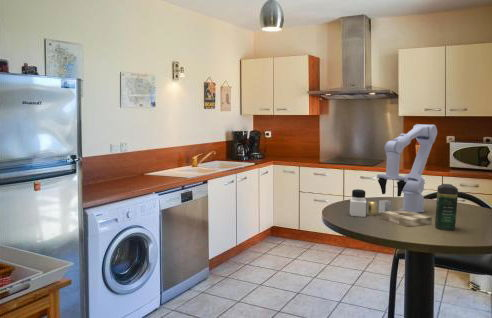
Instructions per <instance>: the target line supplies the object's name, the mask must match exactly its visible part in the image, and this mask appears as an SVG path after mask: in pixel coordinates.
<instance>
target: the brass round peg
mask: <svg viewBox="0 0 492 318" xmlns="http://www.w3.org/2000/svg"><path fill="white" fill-rule="evenodd" d="M377 208H378V202H377V201H374V200H373V201H371V200H369V201H367V215H368V216H372V215H375V216H377V213H378V212H377V210H378V209H377Z"/></svg>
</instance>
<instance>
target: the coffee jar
mask: <svg viewBox="0 0 492 318" xmlns="http://www.w3.org/2000/svg"><path fill="white" fill-rule="evenodd" d="M436 188H437V189H436V190H437V191H436V204H435V206H436V207H435V217H434V225H435V227H436V228H437V229H442V230H445V231H449V230H450V231H451V230H455V229H456V223H457V222H456V221H457V211H458V210H457V208H458V199H459V197H458V196H459V195H458V194H459V192H458V191H459V189H458V188H457V186H454V185H453V184H451V183H442V184H440V185H438V186H437V187H436Z"/></svg>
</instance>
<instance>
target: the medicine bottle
mask: <svg viewBox="0 0 492 318" xmlns="http://www.w3.org/2000/svg"><path fill="white" fill-rule="evenodd" d="M349 201H350V203H349V216H350V217H359V218H360V217H362V218H364V217H365V218H366V217H367V207H368V201H367V200H366V190H364V189H362V188H361V189H358V188H357V189H353V190H352V191H351V198H350V200H349Z"/></svg>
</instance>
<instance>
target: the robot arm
mask: <svg viewBox="0 0 492 318" xmlns="http://www.w3.org/2000/svg"><path fill="white" fill-rule="evenodd" d="M437 135H438V128H437V126H436V125H435V124H424V123H423V124H419V123H416V124H414V125H413V127H412V129H410V130H409V131H408V132H407V133H400V134H399V136H397V137H395V138H394V139H393V140H388V141H387V142H385V145H384V146H383V147H384V151H385V156H386V166H385V167H386V169H385V174H382V173H377V174H376V178H377V182H378V184H379V187H380V191H381V194H382V195H385V194H386V192H387V183H388V180H392V181H396V185H397V193H396V195H397V197H399V198H400V197H401V196H402V193H403V201H402V202H403V203H402V208H399V209H398V210H407V211H411V212H414V213H418V214H420V213H425V210H424V205H425V204H424V203H425V198H424V195H423V194H422V193H424V190H425V182H426V181H425V179H424V177H423V172H424V170H425V166H426V164H427V161H428V158H429V156H430V153H431V150H432V147H433V144H434V143H435V142H436V138H437ZM413 139H416V142H417V143H419V148H418V150H417V154H416V155H415V158H414V162H413V164H412V167H411V170H410V172H409V173H408V174H405V175H404V176H402V175H400V160H401V159H400V158H401V154H402V153H403V150H404V149H405V147H407V146H408V145H410V144H411V142H412V140H413Z"/></svg>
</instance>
